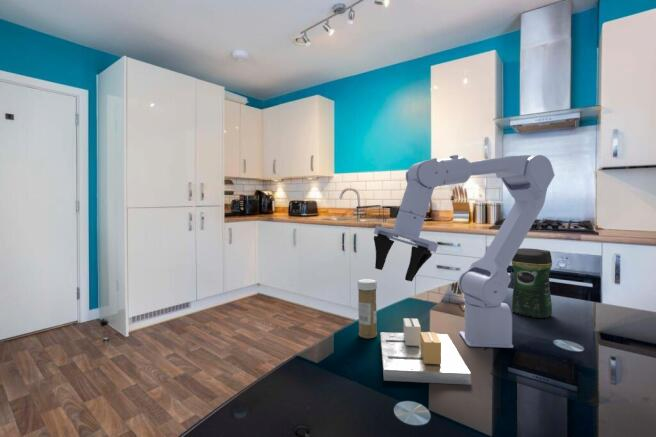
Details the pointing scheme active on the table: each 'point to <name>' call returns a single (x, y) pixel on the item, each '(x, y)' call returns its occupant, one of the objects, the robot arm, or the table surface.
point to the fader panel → (421, 362)
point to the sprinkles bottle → (367, 308)
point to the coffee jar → (532, 283)
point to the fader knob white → (412, 331)
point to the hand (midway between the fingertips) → (392, 274)
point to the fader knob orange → (430, 348)
